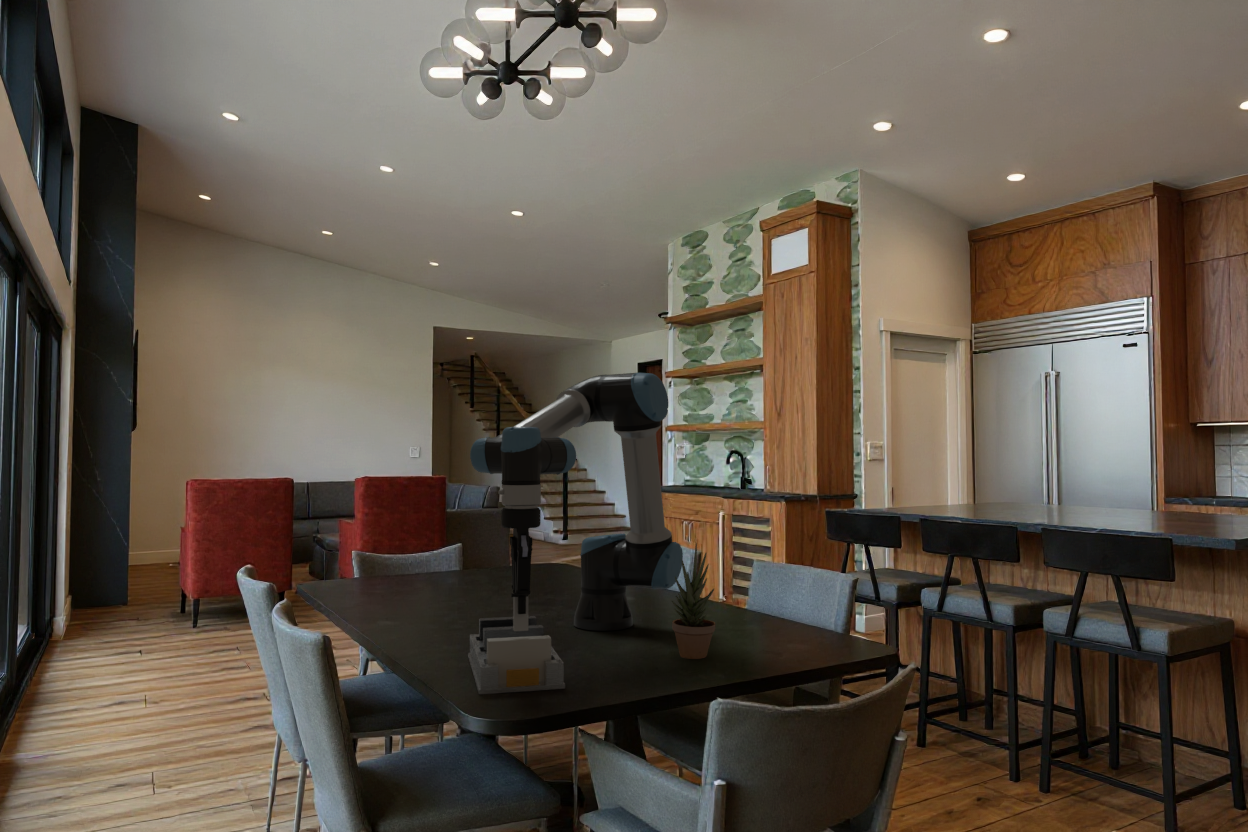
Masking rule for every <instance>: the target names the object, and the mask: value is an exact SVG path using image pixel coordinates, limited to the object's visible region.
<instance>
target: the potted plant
mask: <svg viewBox="0 0 1248 832" xmlns="http://www.w3.org/2000/svg"><path fill="white" fill-rule="evenodd" d="M697 546H698V543H697V542H695V547H694V558H693V559H694V560H693V568H692V569H693V571H692V577H691V578H692V579H690V574H689V571H687V570H686V566H685V564H684V563H685V562H684V560H682V568H681V569H682V572H683V578H684V585H685V589H684V588H683V586H681V584H680V582H679V580H678V579H676V577H675V580H676V583H675V584H676V586H677V587H678V590H679V593H678V596H677V595H675V597H676V601H677V602H678V603H679V604H680V606H679V605H678V604H676V603H675V602H674V600H671V603H672V604H673V605H674V606H675V607H676V608H677V609H678V610H677V609H676V608H674V609H673V610H675V612H676V613H677V614H678V615H679V617H681V618H676V619H674V620H672V622H671V625H672V627H671V629H672V631H674V635H675V640H676V644H677V649H678V653H679V657H680V658H683V659H686V660H687V659H688V660H701V659H704V658H706V657H707V656H708V653H709V652H708V651H709V648H710V646H711V645H710V644H711V641H712V638H713V634H714V632H715V631H716V622H715V621H713V620H709V619H706V617H707V614H705V615H704V613H705V611H706V609H707V608H706V607H705V606H706V604H707V603H708V601H709V600H710V598H711V596H712V594H713V593H714V591H715V588H712V589H711V591H710V592H709V593H708V594H707V595H706V596H705V597H702V598H701V595H702V593H703V590H704V589H705V586H706V584H707V581H708V578H707V577H706V575H707V574H708V568H709V564H710V563H707V566H706V567H705V563H706V559H707V553H708V552H704V556H703V558H702V561H701V564H700V566H699V569H698V571H697V565H698V564H697V563H698V562H697V560H698V549H697V548H698V547H697ZM704 567H705V569H704ZM705 577H706V578H705ZM700 598H701V599H700ZM703 615H704V616H703Z"/></svg>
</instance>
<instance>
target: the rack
mask: <svg viewBox="0 0 1248 832" xmlns="http://www.w3.org/2000/svg"><path fill="white" fill-rule="evenodd" d="M537 620H538V618H537V617H536V616H535V615H528V631H514V630H513V616H502V617H484V618H483V617H481V618H478V634H475V633H473V634H472V633H469V652H467V653H468V654H467V656H468V660H469V664H470V668H471V671H472V675H473V678H474V682H475V685H476V689H477V692H478V695H490V694H491V695H492V694H504V693H519V692H533V691H534V692H535V691H548V690H549V691H550V690H562V689H566V683H565V682H564V672H565V671H564V661H563V660H562V659H561V657H560V656H559V655H558V653H557V652H556V651H555V649H554V648H553V646H552V645H551V660H545V669H544V681H539V668H528V669H512V670H506V684H498V665H497V663H494V664H487V639H489V638H508V637H527V636H545V635H544V634H545V626H543V625H542V624H537Z"/></svg>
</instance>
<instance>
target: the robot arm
mask: <svg viewBox="0 0 1248 832" xmlns="http://www.w3.org/2000/svg"><path fill="white" fill-rule="evenodd" d="M668 409H669V397H668V392H667V389H666V386H665V384H664V383H663V381H662V380H661V379H660V377H659V376H658V375H656V374H654V373H651V372H650V373H648V372H647V373H646V372H629V373H615V374H614V373H613V374H599V375H598V374H597V375H595V376H592V377H589V378H586V379H584V380H582V381H579V382H577V383H575V384H573V385H571V386H570V387H568V388H566V389H565V390H563V391H561V392H559V394H558V395H557V397H556V400H554V401H553V402H552V403H550V404H548V405H547V406H545V407H543V408H541V409H540V410H538V411H537V412H535V413H533V414H531V415H530V416H528V417H526V418H525V419H523V420H522V421H520V422H518V423H517V424H515V425H514V426H507V427H505V428H504V429H503V430H502V433H500V434H499V435H497V436H494V437H490V436H487V437H482V438H477V439H476V440H475V441H474V442H473V443H472V446H471V448H470V453H469V458H470V462H471V465H472V467H473V469H474V470H476V471H477V472H478V473H483V474H490V475H493V474H501V488H502V489H499V490H498V495H500V496H501V505H502V506H503V508H502V509H501V513H500V515H501V520H500V521H501V522H500V524H501V527H502V528H504V529H513V531H512V536H509V545H510V558H511V590H512V593H510V597H511V598H512V599H513V600H512V601H513V602H512V603H513V604H512V607H513V609H512V610H513V613H512V617H513V630H514V631H528V616H529V595H531V571H532V570H531V568H532V553H533V537H531V536H530V532H529V531H530V529H535V528H539V527H540V526H541V516H542V515H541V513H542V512H541V511H542V510H541V508H540V507H538V506H540V505H541V503H542V502H541V501H542V499H541V498H542V493H541V492H542V489H541V488H542V485H541V475H560V474H566V473H567V472H569V471H570V470H572V468H573V467H574V466H575V464H576V460H577V451H576V448H575V445H574V444H573V443H572V441H570V440H569V439H567V438H564V437H560V436H562V435H563V434H565V433H567V432H568V431H570V430H571V429H572V428H579V427H583V426H584V425H586V424H589V423H595V422H596V423H597V422H606V423H607V422H608V423H611V422H612V423H613V424H612V425H613V431H614V432H615V434H617V435H619V437H620V439H621V449H622V450H621V451H622V460H623V469H624V479H625V489H626V499H627V500H626V501H627V508H628V518H629V526H630V528H629V529H630V531H628V533H627V534H625V533H611V534H610V533H609V534H604V535H597V536H596V535H595V536H589V537H586V538H584V539H583V540H582V542H581V549H580V598H579V600H578V603H577V606H576V610H575V612H574V617H573V626H574V627H576V628H578V629H581V630H588V631H596V632H597V631H600V632H601V631H602V632H604V631H618V630H620V631H621V630H624V629H628V628H631V627H633V626H634V624H633V623H634V622H633V621H634V619H633V614H632V610H631V606H630V604H629V603H630V602H629V601H628V597H627V587H633V588H634V587H636V588H644V589H652V590H658V589H659V590H668V589H670V588H672V587H673V586H674V585H675V584H677V583H676V580H675V577H676V579H677V580H678V579H679V577H680V574H681V571H682V569H683V568H682V560H683V559H684V554H683V553H684V552H683V549H682V547H681V544H680V543H678V542H677V541H673V536H672V531H671V530H669V529H668V528H667V527H666V526H665V523H666V522H665V515H664V514H665V513H664V505H663V495H662V494H663V493H662V487H661V482H662V481H661V473H660V463H659V453H658V445H657V444H658V443H657V432H658V431H659V430H660V428H661V427H662V421H663V420H664V419H666V418H667V416H668V413H669V412H668ZM683 561H684V560H683Z"/></svg>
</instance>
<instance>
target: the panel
mask: <svg viewBox="0 0 1248 832" xmlns="http://www.w3.org/2000/svg"><path fill="white" fill-rule="evenodd" d="M551 646H552V637H551V636H550V635H549V634H548V635H544V636H527V637H508V638H489V639H487V664H494V663H497V665H498V684H506V670H512V669H528V668H539V681H544V669H545V660H551Z"/></svg>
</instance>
